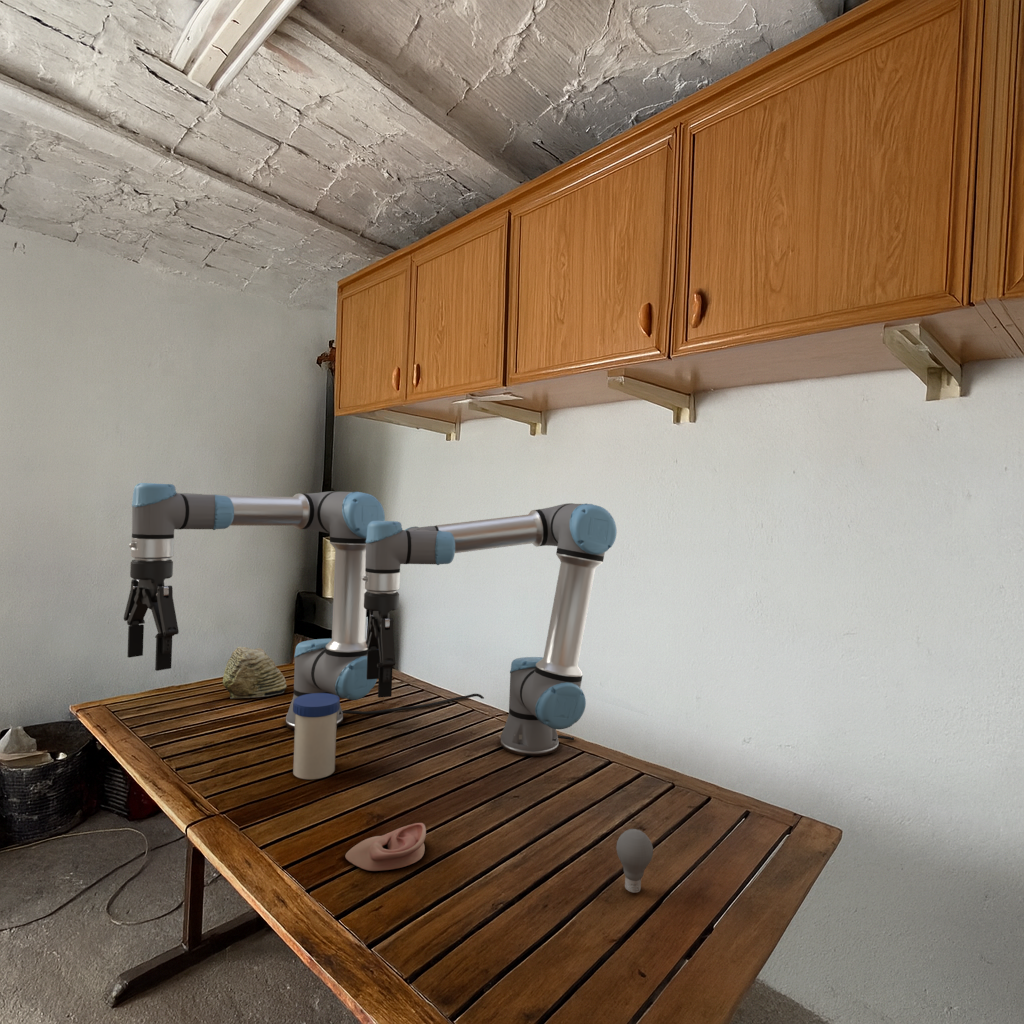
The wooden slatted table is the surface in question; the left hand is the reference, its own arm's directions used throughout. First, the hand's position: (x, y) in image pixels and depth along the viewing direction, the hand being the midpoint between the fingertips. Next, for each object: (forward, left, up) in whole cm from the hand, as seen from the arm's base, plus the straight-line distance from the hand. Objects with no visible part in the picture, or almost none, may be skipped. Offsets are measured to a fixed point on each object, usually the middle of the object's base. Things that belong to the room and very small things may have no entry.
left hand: (148, 662), depth 129 cm
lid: (-31, +13, -12) cm, 36 cm away
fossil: (-50, -47, -28) cm, 74 cm away
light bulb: (-41, +90, -28) cm, 103 cm away
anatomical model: (-20, +52, -28) cm, 62 cm away
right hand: (-36, +29, -6) cm, 47 cm away
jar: (-31, +13, -28) cm, 44 cm away
